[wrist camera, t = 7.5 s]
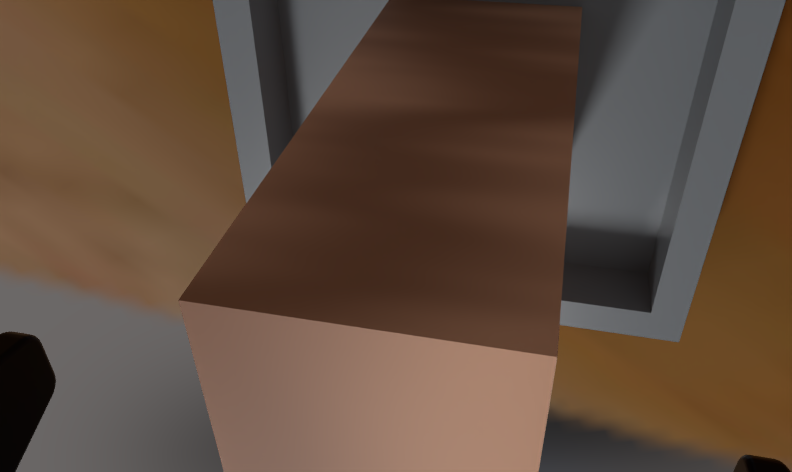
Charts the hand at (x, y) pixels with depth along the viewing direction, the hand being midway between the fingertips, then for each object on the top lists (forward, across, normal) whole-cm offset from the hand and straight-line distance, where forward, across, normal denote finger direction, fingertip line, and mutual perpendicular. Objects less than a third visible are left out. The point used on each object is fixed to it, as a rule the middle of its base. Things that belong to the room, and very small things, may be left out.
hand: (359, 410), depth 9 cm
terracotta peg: (+9, 0, 0) cm, 9 cm away
